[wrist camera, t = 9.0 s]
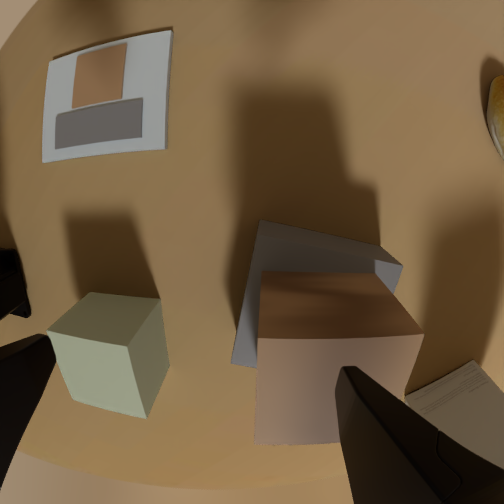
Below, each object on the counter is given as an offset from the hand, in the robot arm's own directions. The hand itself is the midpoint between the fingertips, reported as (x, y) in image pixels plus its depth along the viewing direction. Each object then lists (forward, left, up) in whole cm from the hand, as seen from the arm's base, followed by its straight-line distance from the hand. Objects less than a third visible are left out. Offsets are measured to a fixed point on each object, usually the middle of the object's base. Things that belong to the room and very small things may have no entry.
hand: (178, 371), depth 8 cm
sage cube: (-8, -7, -12) cm, 15 cm away
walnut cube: (+5, -3, -8) cm, 10 cm away
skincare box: (+20, -14, -12) cm, 27 cm away
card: (-9, +10, -12) cm, 18 cm away
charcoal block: (+5, -3, -12) cm, 13 cm away
